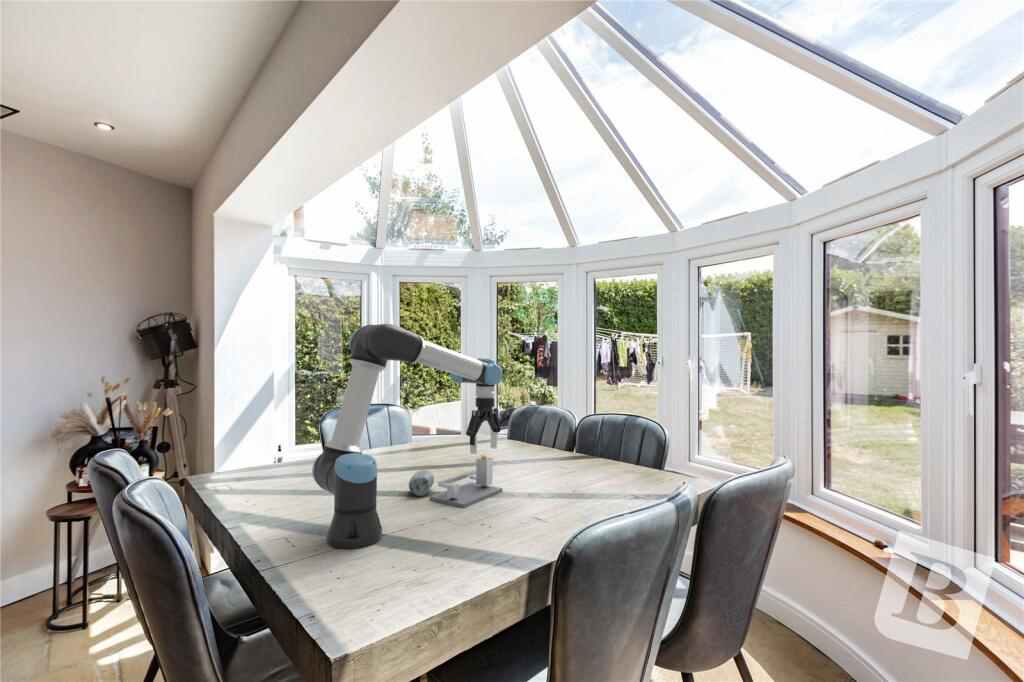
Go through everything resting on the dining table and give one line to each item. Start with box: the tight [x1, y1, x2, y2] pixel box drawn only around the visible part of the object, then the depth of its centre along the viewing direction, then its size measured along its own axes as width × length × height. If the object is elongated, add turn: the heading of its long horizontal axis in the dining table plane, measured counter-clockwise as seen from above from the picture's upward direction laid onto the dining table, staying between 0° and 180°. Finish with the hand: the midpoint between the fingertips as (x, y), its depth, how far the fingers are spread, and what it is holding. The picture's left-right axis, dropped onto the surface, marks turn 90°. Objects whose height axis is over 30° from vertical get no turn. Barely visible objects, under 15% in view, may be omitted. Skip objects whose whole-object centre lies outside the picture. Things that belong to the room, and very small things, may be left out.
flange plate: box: [429, 481, 503, 509], centre depth 179 cm, size 24×16×1 cm, turn 147°
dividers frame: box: [437, 469, 476, 499], centre depth 180 cm, size 24×9×5 cm, turn 147°
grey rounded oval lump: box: [408, 469, 435, 497], centre depth 182 cm, size 14×10×10 cm
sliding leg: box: [469, 454, 494, 486], centre depth 187 cm, size 4×9×12 cm, turn 57°
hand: (483, 451), depth 186 cm, fingers open, 13 cm apart
